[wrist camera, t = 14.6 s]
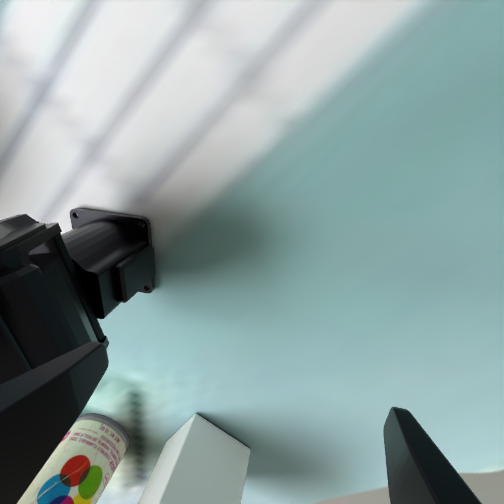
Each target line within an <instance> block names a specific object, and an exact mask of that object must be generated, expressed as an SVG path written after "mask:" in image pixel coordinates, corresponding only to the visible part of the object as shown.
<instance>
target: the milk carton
mask: <svg viewBox="0 0 504 504" xmlns="http://www.w3.org/2000/svg"><path fill="white" fill-rule="evenodd" d="M250 452H251V450H250V449H249V448H248V447H246V446H245V445H243V444H242V443H240V442H239V441H237V440H236V439H234V438H233V437H231V436H230V435H228V434H227V433H225V432H223V431H222V430H220V429H219V428H217V427H216V426H214V425H213V424H211V423H210V422H208V421H207V420H205V419H204V418H202V417H201V416H199V415H197V414H194V415H193V416H192V417H191V418H190V419H189V420H188V421H187V422H186V423H185V424H184V425H183V426H182V427H181V428H180V429H179V430H178V431H177V432H176V433H175V434H174V435H173V436H172V437H171V438H170V439H169V440H168V441H167V442H166V444H165V446H164V448H163V450H162V452H161V454H160V456H159V459H158V461H157V463H156V465H155V467H154V469H153V472H152V474H151V476H150V478H149V480H148V482H147V484H146V487H145V489H144V491H143V493H142V495H141V497H140V500H139V502H138V504H241V499H242V493H243V488H244V483H245V478H246V473H247V468H248V462H249V457H250Z"/></svg>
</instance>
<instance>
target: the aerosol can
mask: <svg viewBox="0 0 504 504" xmlns="http://www.w3.org/2000/svg"><path fill="white" fill-rule="evenodd" d="M129 443H130V442H129V438H128V435H127V434H126V432H125V431H124V429H123V428H122V427H121V426H120V425H119V424H117V423H116V422H114V421H113V420H111V419H109V418H107V417H105V416H102V415H98V414H85V415H83V416H81V417H80V418H79V419H78V421H77V422H76V423H75V424H74V426H73V427H72V428H71V429H70V431H69V432H68V433H67V434H66V436H65V437H64V438H63V439H62V441H61V442H60V444H59V445H58V446H57V448H56V449H55V451H54V452H53V453H52V455H51V456H50V458H49V459H48V461H47V462H46V463H45V465H44V466H43V468H42V469H41V470H40V472H39V473H38V475H37V476H36V477H35V479H34V480H33V482H32V483H31V484H30V486H29V487H28V489H27V490H26V491H25V493H24V494H23V496H22V497H21V499H20V500H19V501H18V503H17V504H96V503H97V501H98V500H99V498H100V496H101V494H102V493H103V491H104V489H105V487H106V486H107V484H108V482H109V480H110V479H111V477H112V475H113V473H114V472H115V470H116V468H117V466H118V465H119V463H120V461H121V460H122V458H123V456H124V454H125V452H126V451H127V449H128V447H129Z"/></svg>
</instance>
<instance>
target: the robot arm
mask: <svg viewBox="0 0 504 504" xmlns="http://www.w3.org/2000/svg"><path fill="white" fill-rule="evenodd" d="M76 213H77V214H78V216H79V217H78V216H77V214H76ZM70 218H71V223H72V229H73V230H71V231H68V232H66V233H64V234H62V235H61V234H60V232H62V231H61V229H60V226H59V224H58V223H50V224H45V223H39V221H35V220H34V219H32V218H31V217H29V216H28V215H27V214H22V215H16V216H13V217H10V218H6V219H3V220H0V504H17V503H18V501H19V500H20V499H21V497H22V496H23V494H24V493H25V491H26V490H27V489H28V487H29V486H30V484H31V483H32V482H33V480H34V479H35V477H36V476H37V475H38V473H39V472H40V470H41V469H42V468H43V466H44V465H45V463H46V462H47V461H48V459H49V458H50V456H51V455H52V453H53V452H54V451H55V449H56V448H57V446H58V445H59V444H60V442H61V441H62V439H63V438H64V437H65V435H66V434H67V432H68V431H69V430H70V428H71V427H72V425H73V424H74V423H75V421H76V420H77V418H78V417H79V415H80V414H81V412H82V411H83V409H84V407H85V406H86V404H87V402H88V401H89V399H90V397H91V395H92V394H93V392H94V390H95V389H96V387H97V385H98V383H99V382H100V380H101V378H102V377H103V375H104V373H105V372H106V370H107V367H108V363H109V361H108V355H107V350H106V349H107V347H108V345H109V341H108V339H107V337H106V336H104V334H103V331H102V329H101V327H100V324H99V322H98V320H97V318H98V319H104V318H105V317H106V316H107V315H108V314H109V313H110V312H111V311H112V310H113V309H115V308H116V307H117V306H118V305H119V304H120V303H121V302H123V303H126V302H127V301H128V300H129V299H130V298H132V297H133V296H134V295H135V294H136V293H137V292H143V293H151V292H152V291H153V290H154V289H155V282H154V276H155V261H154V248H153V246H152V241H151V228H150V222H149V220H148V219H147V218H145V217H139V216H132V215H125V214H118V213H111V212H103V211H96V210H89V209H82V208H75V209H72V210H71V211H70ZM141 222H143V223H144V225H145V226H142V225H141ZM146 285H147V286H148V287H149V288H148V287H147V286H146ZM384 444H385V455H386V466H387V477H388V487H389V496H390V502H391V504H482V503H481V502H480V501H479V499H478V498H477V497H476V496H475V494H474V493H473V492H472V490H471V489H470V488H469V487H468V485H467V484H466V483H465V482H464V480H463V479H462V478H461V476H460V475H459V474H458V473H457V471H456V470H455V469H454V468H453V466H452V465H451V464H450V462H449V461H448V460H447V459H446V457H445V456H444V455H443V454H442V452H441V451H440V450H439V448H438V447H437V446H436V445H435V443H434V442H433V441H432V439H431V438H430V437H429V436H428V434H427V433H426V432H425V431H424V429H423V428H422V427H421V425H420V424H419V423H418V422H417V420H416V419H415V418H414V417H413V415H412V414H411V413H410V412H409V411H408V410H406V409H403V408H398V407H392V408H391V409H390V412H389V414H388V417H387V419H386V422H385V425H384Z"/></svg>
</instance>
